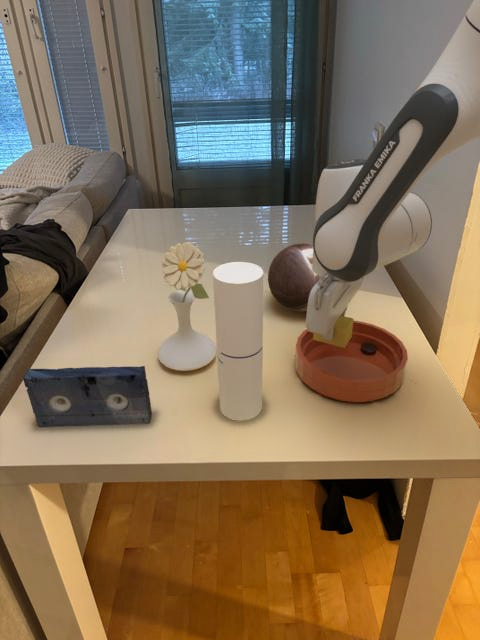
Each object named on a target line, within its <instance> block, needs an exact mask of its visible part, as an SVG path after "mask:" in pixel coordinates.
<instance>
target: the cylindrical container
mask: <svg viewBox="0 0 480 640" xmlns="http://www.w3.org/2000/svg"><path fill="white" fill-rule="evenodd" d="M212 277H213V278H212V281H213V282H212V283H213V298H214V299H213V300H214V301H213V302H214V319H215V320H214V321H215V337H216V338H215V339H216V340H215V341H216V349H217V351H216V358H217V377H218V394H219V395H218V397H219V398H218V399H219V409H220V412H221V413H222V415H223V416H224V417H226V418H227V419H229V420H232V421H240V422H244V421H249V420H253V419H254V418H256V417H258V415H259V414H260V413H261V411H262V410H263V356H264V355H263V349H264V348H263V347H264V346H263V344H264V341H263V340H264V269H263V268H262V267H261V266H260V265H257V264H255V263H251V262H247V261H232V262H231V261H230V262H226V263H223V264H220V265H218V266H217V267H215V268H214V270H212Z"/></svg>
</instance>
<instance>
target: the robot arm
mask: <svg viewBox="0 0 480 640" xmlns="http://www.w3.org/2000/svg"><path fill="white" fill-rule="evenodd" d="M453 33H454V34H453V35H452V37H451V39H450V40H449V42H448V44H447V45H446V46H445V48H444V50H443V51H442V53H441V54H440V56H438V57H439V58H437V60H436V62H435V63H434V65H433V67H432V68H431V69H430V70H429V72H428V74H427V75H426V77H425V78H424V80H423V81H422V82H421V84H420V85H419V86H418V87H417V89H416V90H415V91H414V92H413V94H411V96H410V97H409V98H408V100H407V101H406V103H405V104H404V105H403V107H402V108H401V109H400V111H398V113H397V114H396V116H395V117H394V118H393V120H392V121H391V122H390V124H389V125H388V127H387V129H385V131H384V133H383V134H382V136H381V137H380V138H379V140H378V142H377V144H376V145H375V146H374V148H373V149H372V151H371V153H370V154H369V156H368V157H367V159H364V158H363V159H362V158H361V159H349V160H342V161H338V162H333V163H330V164H328V165H326V166H325V167H324V169H322V171H321V174H320V176H319V180H318V183H317V190H316V197H315V211H314V220H315V226H314V231H313V237H312V245H313V265H312V269H313V271H314V272H315V273H316V274H317V275H319V279H320V280H319V281H318V282H317V283H316V284H315V286H314V287H313V288H312V290H311V292H310V295H309V299H308V306H307V311H306V316H305V330H306V329H307V330H308V331H309V332H312V333H315V334H320V335H322V337H323V338H324V339H326V340H332V338H333V337H334V335H335V329H334V324H335V322H336V321H337V320H338V318H339V317H340V316H344V317H346V312H347V310H348V307H349V305H350V302H352V300H353V298H354V297H355V296H356V295H357V293H358V291H359V290H360V289H361V286H362V284H363V281H364V277H365V276H367V275H369V274H371V273H373V272H374V271H376V270H378V269H379V268H383V267H385V266H387V265H389V264H391V263H394V262H396V261H399V260H401V259H402V258H405V257H406V256H409V255H411V254H414V253H415V252H417V251H419V250H420V249H422V248H423V247H424V246H425V245H426V244H427V242H428V241H429V239H430V236H431V233H432V228H433V219H432V213H431V211H430V208H429V206H428V205H427V203H426V201H425V200H424V199H423V198H422V197H421V196H420V195H419V194H418V193H417V194H416V193H415V192H413V191H412V190H413V189H414V188H415V186H416V185H417V184H418V182H419V181H420V180H421V179H422V177H423V176H424V175H425V174H426V173H427V172H428V171H429V170H430V169H431V168H432V167H433V166H435V165H436V164H437V163H438V162H439V161H441V160H442V159H443V158H444V157H446V156H448V155H449V154H451V153H452V152H454V151H456V150H457V149H459V148H461V147H463V146H464V145H466V144H468V143H470V142H472V141H474V140H476V139H478V138H480V0H473V1H472V2H471V4H470V5H469V7H468V9H467V10H466V13H465V14H464V16H463V18H462V20H461V21H460V23H459V24H458V27H457V28H456V30H455V32H453Z"/></svg>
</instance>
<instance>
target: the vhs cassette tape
mask: <svg viewBox="0 0 480 640" xmlns="http://www.w3.org/2000/svg"><path fill="white" fill-rule="evenodd" d="M22 381H23V383H24V387H25V388H27V389H26V393H27V396H28V399H29V401H30V405H31V408H32V412H33V415H34V416H35V421H36V423H37V426H38V427H40V428H43V427H45V428H47V427H73V426H110V425H136V424H139V425H140V424H149V423H150V422H151V418H152V415H153V411H152V404H151V397H150V390H149V389H150V388H149V385H148V379H147V372H146V366H145V365H142V366H106V367H105V366H89V367H87V366H86V367H63V368H27V371H26V372H25V373H24V375H23V378H22Z"/></svg>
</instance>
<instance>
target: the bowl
mask: <svg viewBox="0 0 480 640" xmlns="http://www.w3.org/2000/svg"><path fill="white" fill-rule="evenodd" d="M363 343H372V344H374V345H375V346H376V347H377V351H376V354H374V355H365V354H363V353H362V352H361V351H360V349H361V345H362V344H363ZM294 357H295V359H294V365H295V370H296V373H297V375H298V376H299V378H300V379H301V381H302V382H303V383H304V384H305V385H307V386H308V387H309V388H310V389H312V390H314V391H315V392H317V393H319V394H321V395H323V396H325V397H328V398H330V399H333V400H337V401H342V402H349V403H366V402H372V401H373V402H374V401H377V400H380V399H384V398H385V397H388V396H390V395H392V394H394V393H395V392H396V391H397V390H398V389H399V388H400V387H401V386H402V383H403V381H404V379H405V375H406V369H407V364H408V360H409V356H408V350H407V348H406V346H405V345H404V343H403V341H402V340H400V339H399V338H398V337H397V336H396V335H395V334H394V333H392V332H390V331H389V330H387V329H385V328H383V327H381V326H379V325H376V324H372V323H369V322H365V321H359V320H353V329H352V337H351V339H350V340H349V342H348V343H347V345H346V347H345V348H343V347H339V346H335V345H331V344H328V343H324V342H320V341H316V340H313V333H312V332H309V331H308V330H307V329H306V328H305V329H304V330H303V331H301V333H300V334H299V335H298V337H297V341H296V343H295V356H294Z"/></svg>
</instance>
